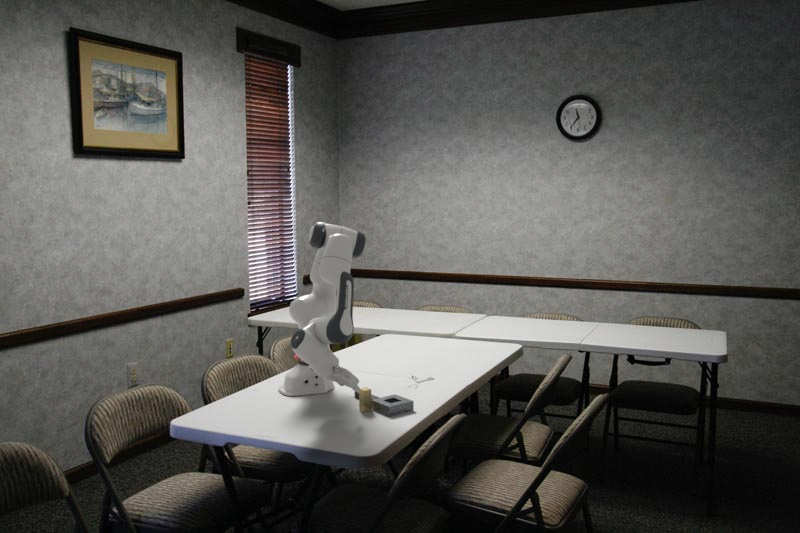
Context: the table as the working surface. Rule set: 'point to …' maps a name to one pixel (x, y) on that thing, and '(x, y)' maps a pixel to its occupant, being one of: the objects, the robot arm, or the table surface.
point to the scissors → (420, 381)
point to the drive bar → (365, 399)
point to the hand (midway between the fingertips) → (350, 387)
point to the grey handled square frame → (390, 404)
